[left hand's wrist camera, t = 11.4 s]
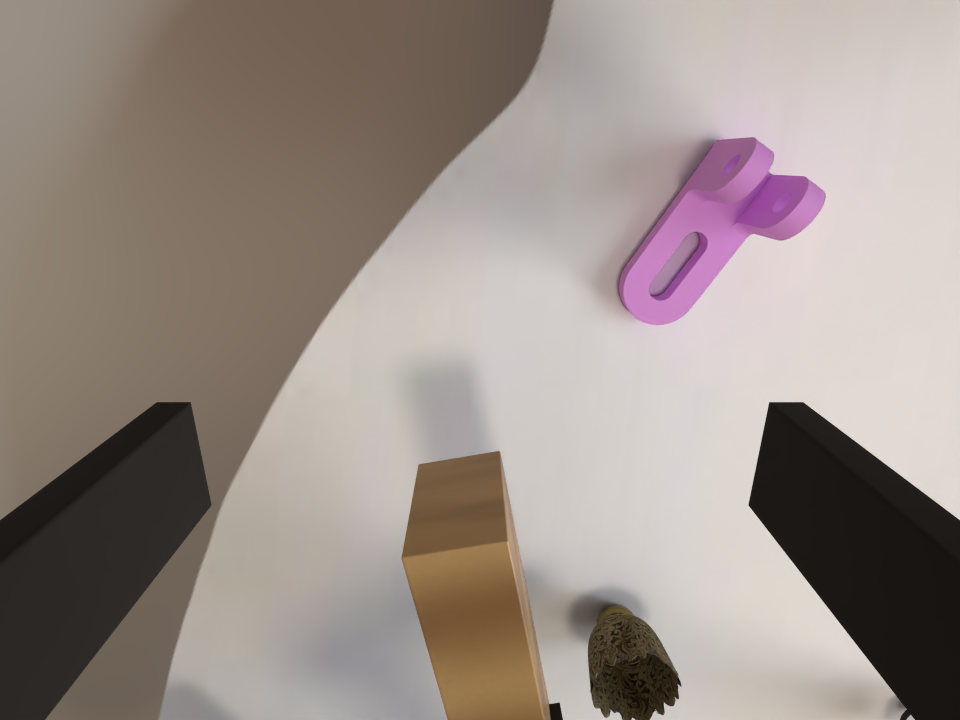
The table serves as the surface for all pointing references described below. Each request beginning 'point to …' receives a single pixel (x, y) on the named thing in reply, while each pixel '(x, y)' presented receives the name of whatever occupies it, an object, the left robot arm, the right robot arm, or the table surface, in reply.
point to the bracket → (716, 225)
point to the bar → (473, 592)
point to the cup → (629, 667)
